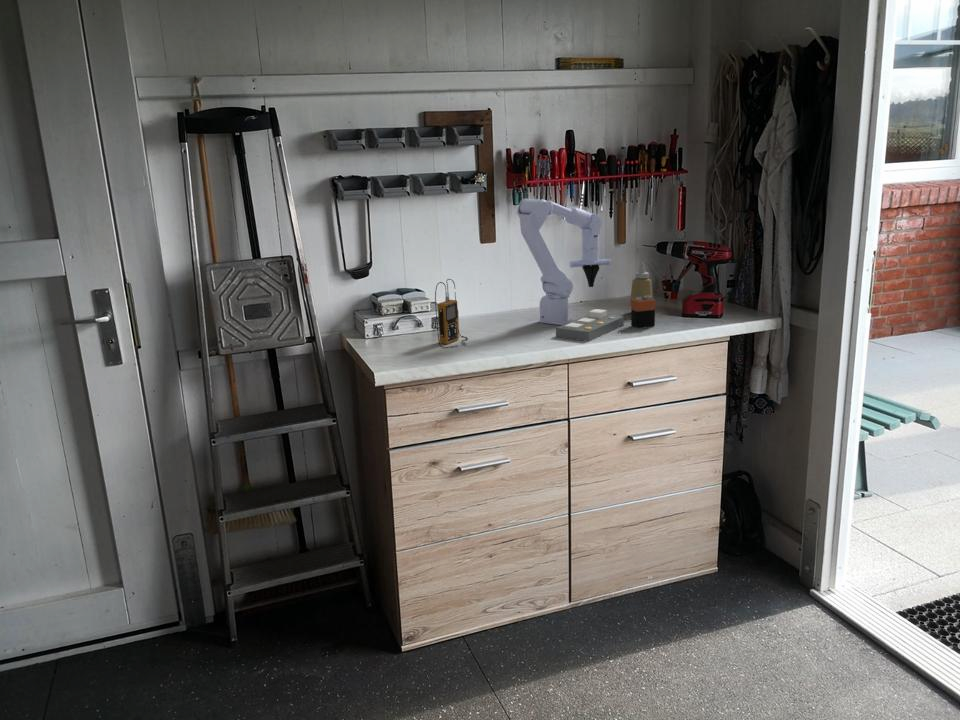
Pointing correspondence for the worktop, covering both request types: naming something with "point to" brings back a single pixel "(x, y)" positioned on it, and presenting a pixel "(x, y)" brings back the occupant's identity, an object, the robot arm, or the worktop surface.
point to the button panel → (590, 328)
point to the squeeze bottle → (641, 284)
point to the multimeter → (448, 320)
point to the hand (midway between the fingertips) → (590, 286)
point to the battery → (643, 312)
